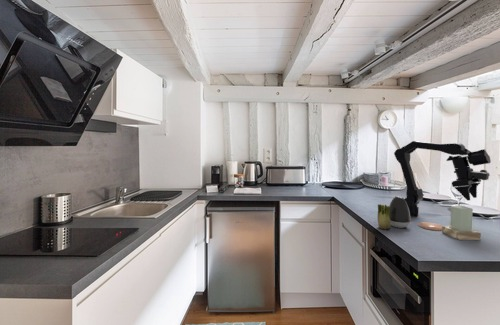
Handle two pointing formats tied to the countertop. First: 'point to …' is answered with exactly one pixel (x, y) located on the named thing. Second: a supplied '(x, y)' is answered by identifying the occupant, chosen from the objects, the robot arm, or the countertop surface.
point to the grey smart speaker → (399, 213)
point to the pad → (430, 226)
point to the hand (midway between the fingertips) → (472, 199)
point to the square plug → (461, 218)
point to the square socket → (461, 234)
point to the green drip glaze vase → (383, 216)
